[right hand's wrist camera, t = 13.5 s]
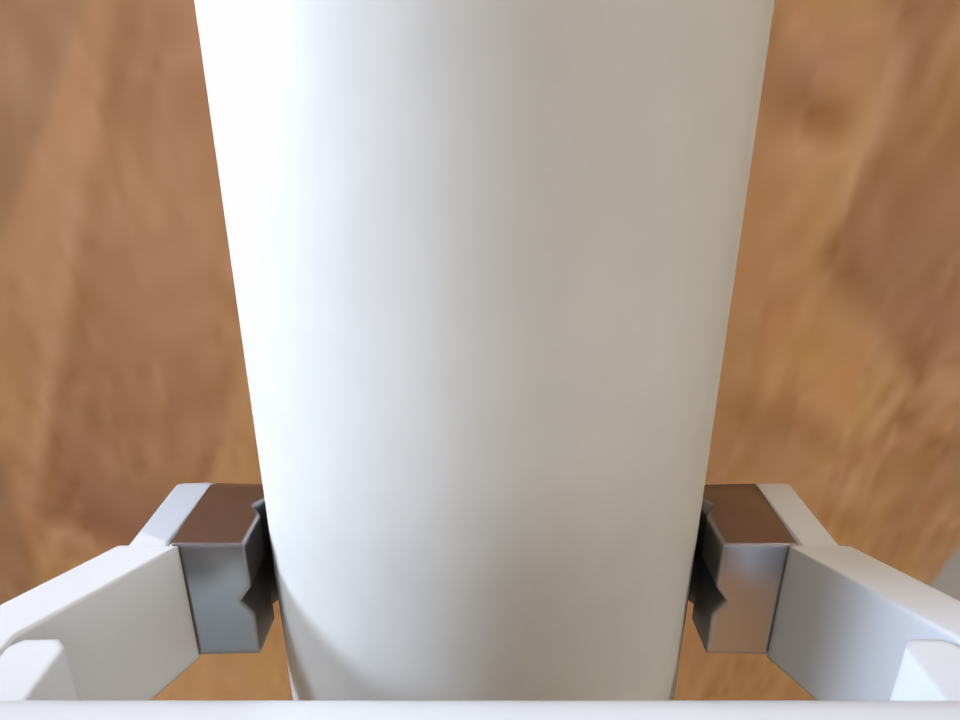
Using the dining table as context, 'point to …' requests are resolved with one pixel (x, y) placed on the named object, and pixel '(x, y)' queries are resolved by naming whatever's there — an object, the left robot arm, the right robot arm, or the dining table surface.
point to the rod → (483, 326)
